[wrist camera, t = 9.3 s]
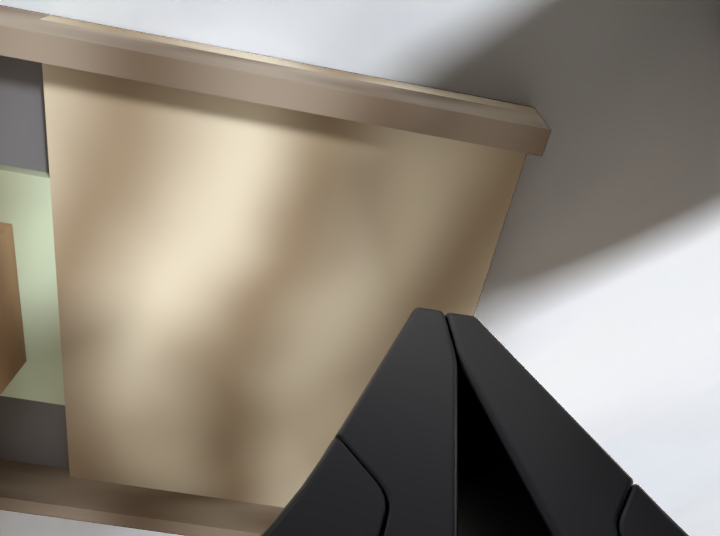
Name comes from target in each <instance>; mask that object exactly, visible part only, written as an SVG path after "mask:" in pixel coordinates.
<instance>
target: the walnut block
mask: <svg viewBox="0 0 720 536" xmlns="http://www.w3.org/2000/svg"><path fill="white" fill-rule="evenodd" d="M26 361H27V359H26V350H25V340H24V331H23V321H22V312H21V302H20V293H19V284H18V274H17V265H16V255H15V246H14V236H13V227H12V224H9V223H3V222H0V395H1V393H2V392H3V391H4V390H5V388H6V387H7V386H8V384H9V383H10V382H11V381H12V379H13V378H14V377H15V375H16V374H17V373H18V371H19V370H20V369H21V368H22V366H23V365H24V364H25V362H26Z"/></svg>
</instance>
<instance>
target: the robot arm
mask: <svg viewBox="0 0 720 536" xmlns="http://www.w3.org/2000/svg"><path fill="white" fill-rule="evenodd" d="M260 536H689V535H688V534H687V533H686V532H685V531H684V530H683V529H682V528H681V527H679V526H678V525H677V524H676V523H675V522H674V521H673V520H672V519H671V518H670V517H669V516H668V515H667V514H666V513H665V512H664V511H663V510H662V509H661V508H660V507H659V506H658V505H657V504H656V503H655V502H654V500H653V499H652V498H651V497H650V496H649V495H648V494H647V493H646V492H645V491H644V490H643V489H642V488H641V487H640V486H639V485H637V484H634V485H633V479H632V478H631V477H630V476H629V475H628V474H627V473H626V472H625V471H624V470H623V469H622V468H621V467H620V466H619V465H618V464H617V463H616V462H615V461H614V460H613V459H612V458H611V456H610V455H609V454H608V453H607V452H606V451H605V450H604V449H603V448H602V447H601V446H600V445H599V444H598V443H597V442H596V441H595V440H594V439H593V438H592V437H591V436H590V435H589V434H588V433H587V432H586V431H585V430H584V429H583V428H582V427H581V426H580V425H579V424H578V422H577V421H576V420H575V419H574V418H573V417H572V416H571V415H570V414H569V413H568V412H567V411H566V410H565V409H564V408H563V407H562V406H561V405H560V404H559V403H558V402H557V401H556V400H555V399H554V398H553V397H552V396H551V395H550V394H549V393H548V392H547V391H546V390H545V388H544V387H543V386H542V385H541V384H540V383H539V382H538V381H537V380H536V379H535V378H534V377H533V376H532V375H531V374H530V373H529V372H528V371H527V370H526V369H525V368H524V367H523V366H522V365H521V364H520V363H519V362H518V361H517V360H516V359H515V358H514V357H513V356H512V354H511V353H510V352H509V351H508V350H507V349H506V348H505V347H504V346H503V345H502V344H501V343H500V342H499V341H498V340H497V339H496V338H495V337H494V336H493V335H492V334H491V333H490V332H489V331H488V330H487V329H486V328H485V327H484V326H483V325H482V324H481V323H480V321H479V320H478V319H476V318H475V317H473V316H470V315H463V314H457V313H446V314H445V315H444V313H443V312H442V311H439V310H433V309H426V308H420V307H417V308H415V309H414V310H413V311H412V313H411V314H410V316H409V318H408V319H407V321H406V322H405V324H404V326H403V327H402V329H401V330H400V332H399V334H398V335H397V337H396V339H395V340H394V342H393V343H392V345H391V347H390V348H389V350H388V351H387V353H386V355H385V356H384V358H383V360H382V361H381V363H380V364H379V366H378V368H377V369H376V371H375V372H374V374H373V376H372V377H371V379H370V380H369V382H368V384H367V385H366V387H365V389H364V390H363V392H362V393H361V395H360V397H359V398H358V400H357V401H356V403H355V405H354V406H353V408H352V410H351V411H350V413H349V414H348V416H347V418H346V419H345V421H344V422H343V424H342V426H341V427H340V429H339V430H338V432H337V434H336V435H335V438H334V439H333V440H332V441H331V443H330V444H329V446H328V447H327V449H326V451H325V452H324V454H323V455H322V457H321V459H320V460H319V462H318V463H317V465H316V466H315V467H314V469H313V470H312V472H311V473H310V475H309V476H308V478H307V479H306V481H305V482H304V483H303V485H302V486H301V488H300V489H299V490H298V491H297V493H296V494H295V495H294V496H293V498H292V499H291V500H290V501H289V502H288V504H287V505H286V506H285V507H284V509H283V510H282V511H281V512H280V513H279V515H278V516H277V517H276V518H275V520H274V521H273V522H272V523H271V524H270V525H269V526H268V527H267V529H266V530H265V531H264V532H263V533H262V534H261V535H260Z"/></svg>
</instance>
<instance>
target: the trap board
mask: <svg viewBox="0 0 720 536" xmlns="http://www.w3.org/2000/svg"><path fill="white" fill-rule="evenodd" d="M550 132H551V129H550V128H549V127H548V125H547V124H546V123H545V121H544V120H543V119H542V117H541V116H540V115H539V113H538V112H537V111H536V109H535V108H534V107H529V106H524V105H518V104H513V103H508V102H503V101H498V100H492V99H487V98H482V97H477V96H472V95H466V94H461V93H456V92H451V91H445V90H440V89H435V88H430V87H425V86H419V85H414V84H409V83H404V82H399V81H393V80H388V79H383V78H378V77H372V76H367V75H362V74H357V73H352V72H346V71H341V70H336V69H331V68H326V67H320V66H315V65H310V64H305V63H299V62H294V61H289V60H284V59H279V58H273V57H268V56H263V55H258V54H253V53H247V52H242V51H237V50H232V49H226V48H221V47H216V46H211V45H206V44H200V43H195V42H190V41H185V40H180V39H174V38H169V37H164V36H159V35H153V34H148V33H143V32H138V31H133V30H127V29H122V28H117V27H112V26H107V25H101V24H96V23H91V22H86V21H80V20H75V19H70V18H65V17H60V16H54V15H49V14H44V13H39V12H34V11H28V10H23V9H18V8H13V7H7V6H2V5H0V222H3V223H9V224H12V227H13V236H14V246H15V255H16V265H17V274H18V284H19V293H20V302H21V312H22V321H23V331H24V340H25V350H26V359H27V361H26V362H25V364H24V365H23V366H22V368H21V369H20V370H19V371H18V373H17V374H16V375H15V377H14V378H13V379H12V381H11V382H10V383H9V384H8V386H7V387H6V388H5V390H4V391H3V392H2V393H1V395H0V510H6V511H13V512H21V513H28V514H35V515H42V516H49V517H56V518H64V519H71V520H78V521H85V522H92V523H99V524H106V525H114V526H121V527H128V528H135V529H142V530H149V531H157V532H164V533H171V534H178V535H185V536H260V535H261V534H262V533H263V532H264V531H265V530H266V529H267V527H268V526H269V525H270V524H271V523H272V522H273V521H274V520H275V518H276V517H277V516H278V515H279V513H280V512H281V511H282V510H283V509H284V507H285V506H286V505H287V504H288V502H289V501H290V500H291V499H292V498H293V496H294V495H295V494H296V493H297V491H298V490H299V489H300V488H301V486H302V485H303V483H304V482H305V481H306V479H307V478H308V476H309V475H310V473H311V472H312V470H313V469H314V467H315V466H316V465H317V463H318V462H319V460H320V459H321V457H322V455H323V454H324V452H325V451H326V449H327V447H328V446H329V444H330V443H331V441H332V440H333V439H334V438H335V435H336V434H337V432H338V430H339V429H340V427H341V426H342V424H343V422H344V421H345V419H346V418H347V416H348V414H349V413H350V411H351V410H352V408H353V406H354V405H355V403H356V401H357V400H358V398H359V397H360V395H361V393H362V392H363V390H364V389H365V387H366V385H367V384H368V382H369V380H370V379H371V377H372V376H373V374H374V372H375V371H376V369H377V368H378V366H379V364H380V363H381V361H382V360H383V358H384V356H385V355H386V353H387V351H388V350H389V348H390V347H391V345H392V343H393V342H394V340H395V339H396V337H397V335H398V334H399V332H400V330H401V329H402V327H403V326H404V324H405V322H406V321H407V319H408V318H409V316H410V314H411V313H412V311H413V310H414V309H415V308H417V307H420V308H426V309H433V310H439V311H442V312H443V313H444V315H445V314H446V313H457V314H463V315H470V316H474V313H475V310H476V307H477V304H478V301H479V298H480V294H481V291H482V288H483V285H484V282H485V279H486V276H487V273H488V270H489V267H490V264H491V261H492V258H493V255H494V252H495V249H496V246H497V243H498V240H499V237H500V234H501V231H502V227H503V224H504V221H505V218H506V215H507V212H508V209H509V206H510V203H511V200H512V197H513V194H514V191H515V188H516V185H517V182H518V179H519V176H520V173H521V170H522V167H523V164H524V160H525V157H526V154H532V155H538V156H542V155H543V152H544V149H545V146H546V143H547V140H548V137H549V135H550Z"/></svg>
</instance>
